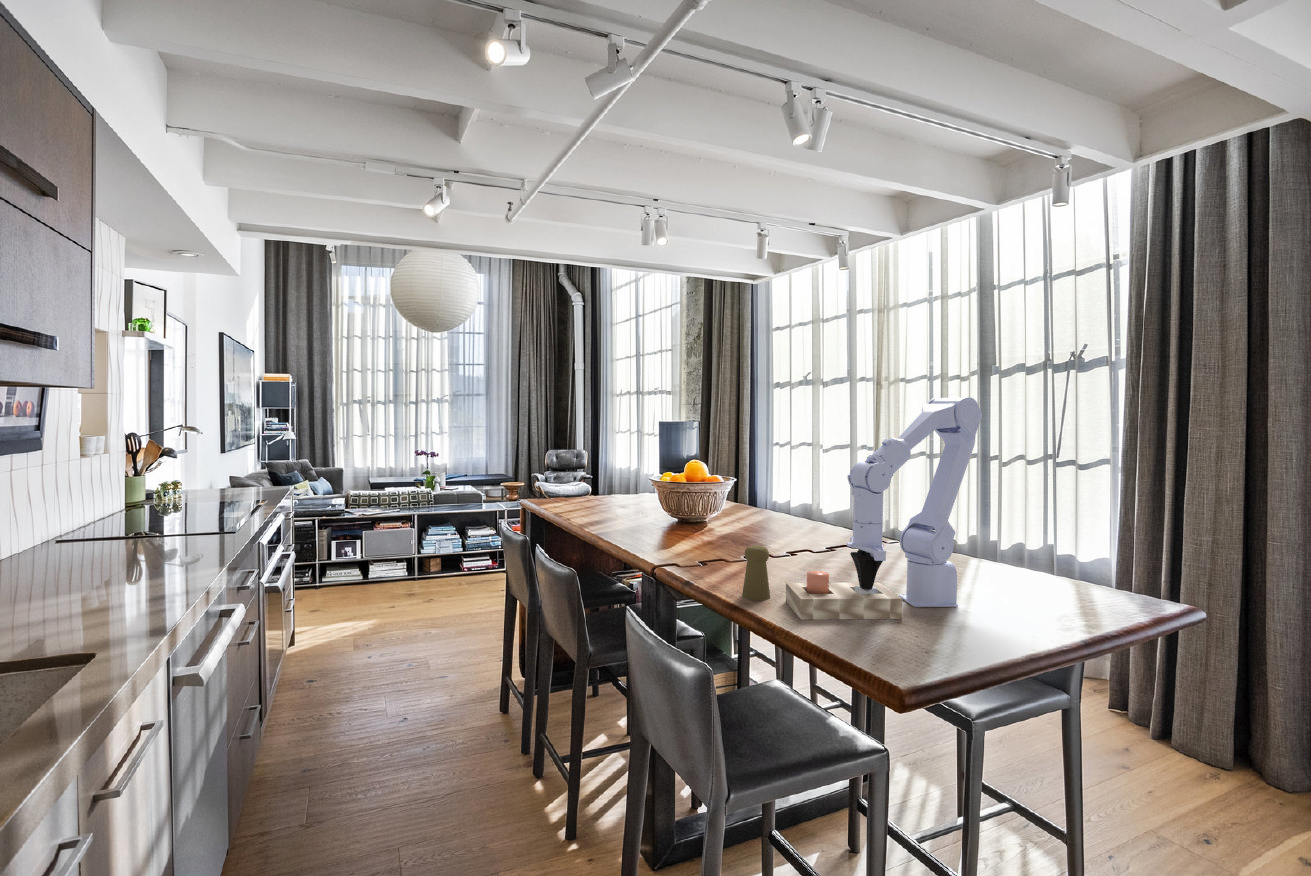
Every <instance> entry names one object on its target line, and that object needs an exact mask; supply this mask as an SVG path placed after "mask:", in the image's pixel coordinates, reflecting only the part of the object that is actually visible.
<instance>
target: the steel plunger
mask: <svg viewBox="0 0 1311 876" xmlns="http://www.w3.org/2000/svg"><path fill="white" fill-rule="evenodd" d="M855 592H856V593H858V594H877V593H878V589H877V588H876V587H873V588H872V589H862V588H861V587H860V585H858V586H855Z"/></svg>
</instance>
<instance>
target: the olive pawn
mask: <svg viewBox="0 0 1311 876" xmlns="http://www.w3.org/2000/svg"><path fill="white" fill-rule="evenodd" d="M744 557H745V558H744V559H745V560H746V566H745V574H744V580H743V581H744V582H743V588H742V593H741V595H742V596H741V597H742V598H744V599H746V600H750V601H766V600H769V599H771V592H770V583H769V576H768V573H769V572H768V567H767V561H768V560H769V559H770V558H769V557H770V551H769V550H768V547H766V546H764V545H757V544H755V545H749V546H747V547H746V548H745V551H744Z"/></svg>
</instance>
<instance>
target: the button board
mask: <svg viewBox="0 0 1311 876" xmlns="http://www.w3.org/2000/svg"><path fill="white" fill-rule="evenodd" d="M858 585H859V582H829V594H808V593H807V582H785V603H786V604H787V605H788V606H789V607H790V608H791V610H792V611H793V612H794V613H795V614H796V615H797V617H798V618H799V619H800V620H903V599H902V598H901V597H900V596H899V594H896V593H895V592H894V591H892V590H891V589H889V588H888V587H886V586H885V585H883V583H881V582H874V585H873V587H876V588H877V589H878V593H877V594H858V593H856V592H855V586H858Z"/></svg>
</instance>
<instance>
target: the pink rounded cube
mask: <svg viewBox="0 0 1311 876" xmlns="http://www.w3.org/2000/svg"><path fill="white" fill-rule="evenodd" d="M806 583H807V593H808V594H829V583H830V573H829V572H827V571H823V570H808V571H807V572H806Z"/></svg>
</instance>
